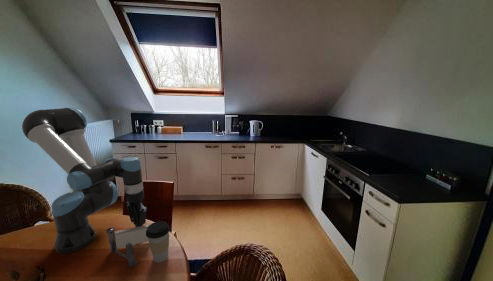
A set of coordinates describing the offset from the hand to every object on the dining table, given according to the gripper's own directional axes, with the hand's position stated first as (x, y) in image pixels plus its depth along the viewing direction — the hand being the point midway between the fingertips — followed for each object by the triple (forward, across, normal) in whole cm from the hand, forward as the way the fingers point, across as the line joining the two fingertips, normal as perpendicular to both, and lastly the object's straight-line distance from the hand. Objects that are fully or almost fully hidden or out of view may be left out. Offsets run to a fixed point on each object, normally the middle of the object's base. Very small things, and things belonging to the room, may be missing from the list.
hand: (139, 236), depth 104 cm
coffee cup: (+2, +18, -3) cm, 18 cm away
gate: (+1, +2, -4) cm, 4 cm away
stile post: (+2, +11, -12) cm, 16 cm away
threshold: (+2, +4, -10) cm, 11 cm away
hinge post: (+2, -4, -10) cm, 11 cm away
